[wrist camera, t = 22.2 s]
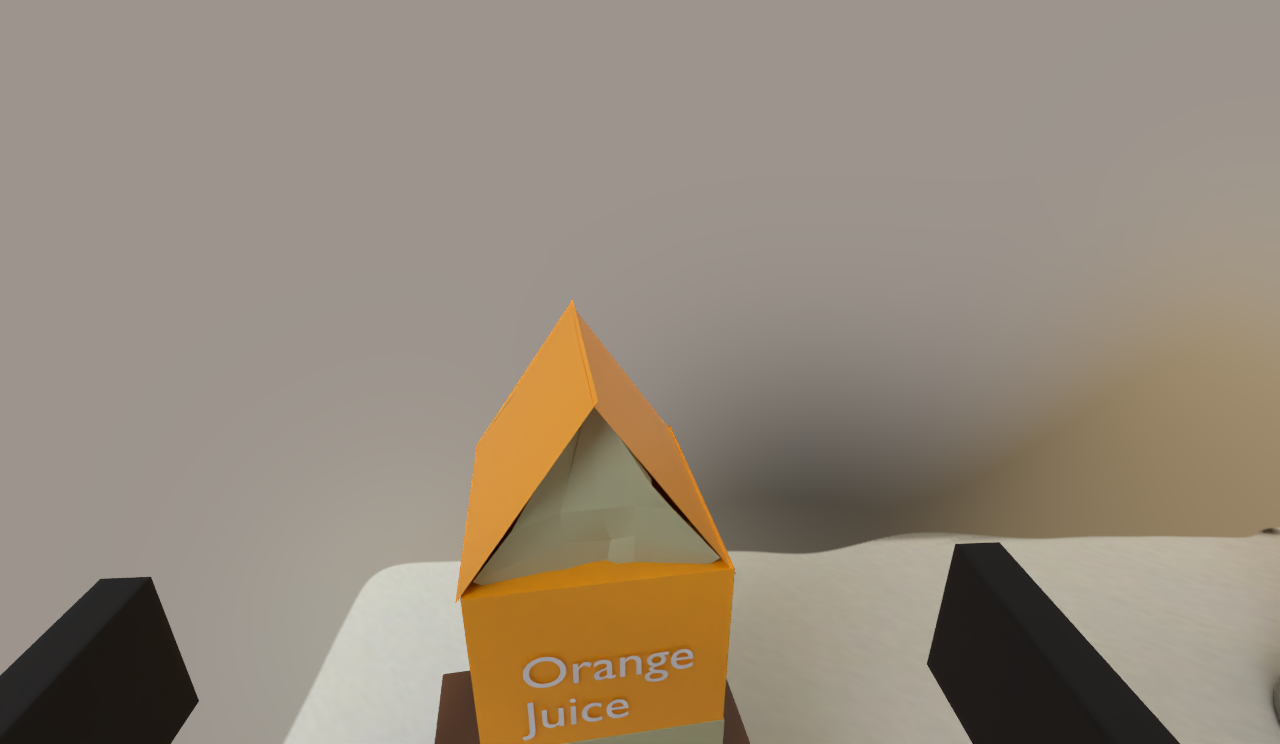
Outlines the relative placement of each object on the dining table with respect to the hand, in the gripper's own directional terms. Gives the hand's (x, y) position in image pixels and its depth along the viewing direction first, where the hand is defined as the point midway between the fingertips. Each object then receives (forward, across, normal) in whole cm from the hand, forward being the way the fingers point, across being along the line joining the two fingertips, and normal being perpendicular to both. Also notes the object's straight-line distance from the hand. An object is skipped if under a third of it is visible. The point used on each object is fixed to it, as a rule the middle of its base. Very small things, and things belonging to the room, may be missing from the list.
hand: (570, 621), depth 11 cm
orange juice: (+10, 0, -19) cm, 21 cm away
